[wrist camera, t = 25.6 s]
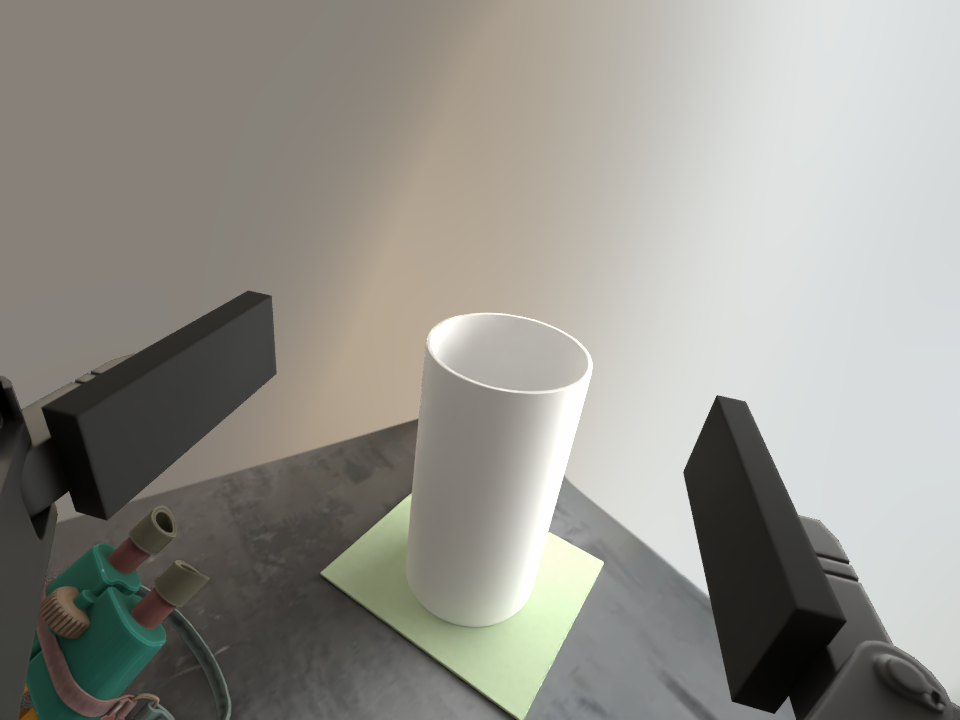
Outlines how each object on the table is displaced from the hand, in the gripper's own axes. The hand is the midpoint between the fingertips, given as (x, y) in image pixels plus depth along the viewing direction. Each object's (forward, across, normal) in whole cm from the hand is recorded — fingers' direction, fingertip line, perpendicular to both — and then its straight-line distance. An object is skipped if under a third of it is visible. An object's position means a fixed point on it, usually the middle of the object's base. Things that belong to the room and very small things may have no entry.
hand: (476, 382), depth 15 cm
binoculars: (-4, -13, -20) cm, 24 cm away
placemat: (+10, 0, -20) cm, 22 cm away
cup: (+10, 0, -20) cm, 22 cm away
